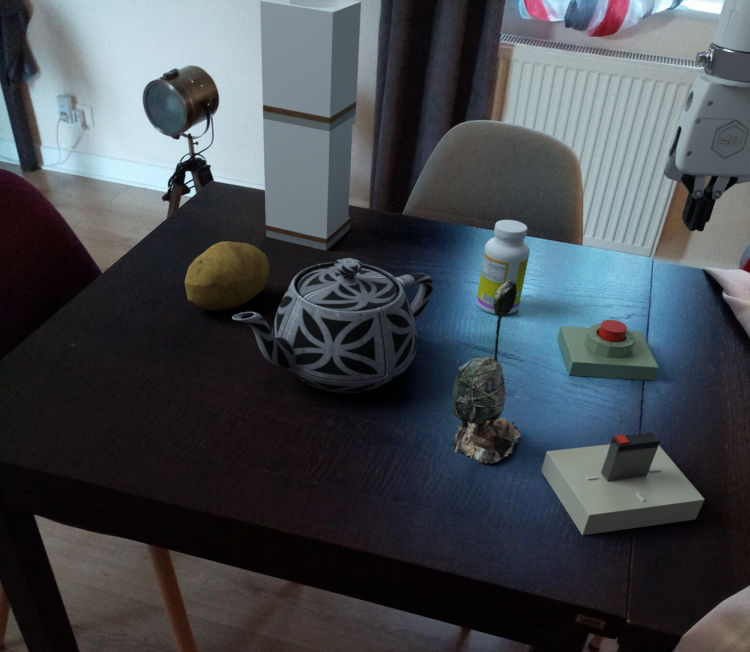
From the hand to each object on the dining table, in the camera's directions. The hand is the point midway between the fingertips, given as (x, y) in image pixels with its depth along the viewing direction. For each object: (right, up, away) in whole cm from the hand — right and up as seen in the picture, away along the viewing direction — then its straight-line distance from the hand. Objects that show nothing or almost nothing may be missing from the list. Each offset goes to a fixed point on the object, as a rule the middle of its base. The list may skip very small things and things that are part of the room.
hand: (692, 226), depth 99 cm
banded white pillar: (-52, +12, +39) cm, 66 cm away
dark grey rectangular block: (-12, -32, -12) cm, 36 cm away
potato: (-62, -6, +18) cm, 65 cm away
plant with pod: (-28, -28, -4) cm, 40 cm away
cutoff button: (-7, -12, +11) cm, 17 cm away
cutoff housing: (-7, -14, +13) cm, 21 cm away
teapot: (-45, -17, +6) cm, 49 cm away
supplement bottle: (-21, -5, +23) cm, 32 cm away
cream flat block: (-13, -34, -10) cm, 38 cm away
